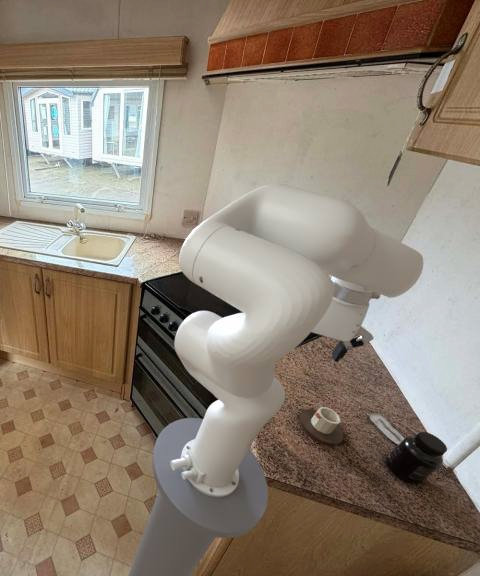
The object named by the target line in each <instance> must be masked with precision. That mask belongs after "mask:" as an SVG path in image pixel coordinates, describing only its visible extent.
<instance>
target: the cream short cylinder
mask: <svg viewBox="0 0 480 576" xmlns="http://www.w3.org/2000/svg"><path fill="white" fill-rule="evenodd" d="M341 420H342V419H341V416H339V414H338V413H337V412H336V411H335V410H333V409H332V408H330V407H327V406H320V407H319V408H318V409H317V412H316V413H315V415H314V416H313V417H312V419H311V423H312V425H313V426H314V427H315V428H316V429H317V430H318V431H320V432H322V433H324V434H331V433H332V432H333V431H334V429H335V428H336V427H337V426H338V425H339V426H340V423H341V422H342V421H341Z"/></svg>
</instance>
